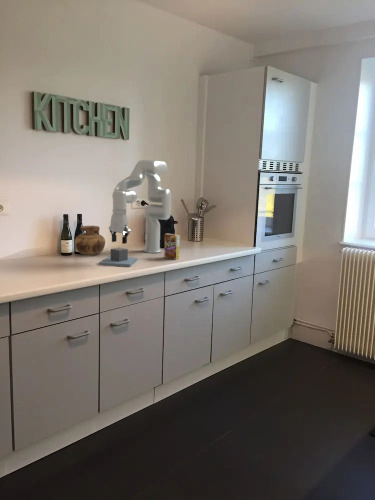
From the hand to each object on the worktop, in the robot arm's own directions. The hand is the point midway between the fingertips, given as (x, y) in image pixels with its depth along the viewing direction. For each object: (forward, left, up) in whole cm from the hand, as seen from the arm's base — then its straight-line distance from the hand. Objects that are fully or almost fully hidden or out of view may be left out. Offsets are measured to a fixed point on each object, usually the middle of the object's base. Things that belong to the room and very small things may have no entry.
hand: (119, 242), depth 255 cm
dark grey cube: (0, 0, -10) cm, 10 cm away
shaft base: (0, 0, -12) cm, 12 cm away
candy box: (-21, +28, -12) cm, 37 cm away
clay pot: (-19, -24, -12) cm, 33 cm away
